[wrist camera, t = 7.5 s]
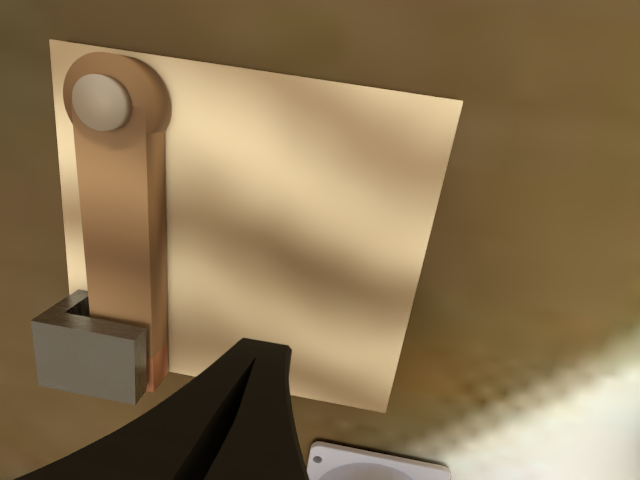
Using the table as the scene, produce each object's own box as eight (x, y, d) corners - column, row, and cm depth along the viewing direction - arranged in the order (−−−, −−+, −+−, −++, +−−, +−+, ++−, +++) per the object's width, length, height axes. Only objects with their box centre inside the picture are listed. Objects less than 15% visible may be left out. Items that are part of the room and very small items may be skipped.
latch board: (384, 399, 22) (385, 413, 21) (86, 342, 23) (74, 353, 22) (457, 100, 17) (463, 101, 16) (66, 42, 18) (49, 39, 17)
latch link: (84, 51, 16) (46, 44, 14) (169, 61, 16) (142, 56, 14) (108, 362, 22) (82, 389, 20) (173, 374, 21) (153, 402, 19)
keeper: (166, 363, 21) (135, 404, 18) (82, 347, 22) (38, 385, 19) (167, 305, 20) (134, 340, 17) (78, 289, 20) (30, 320, 18)
